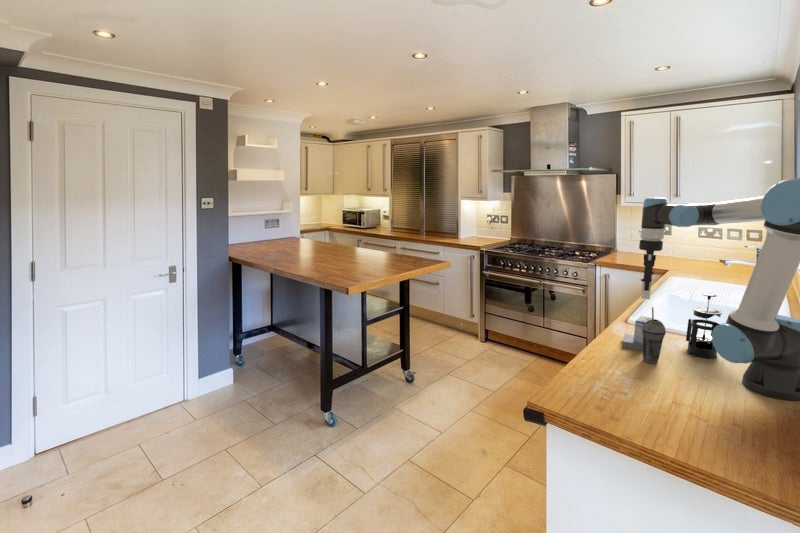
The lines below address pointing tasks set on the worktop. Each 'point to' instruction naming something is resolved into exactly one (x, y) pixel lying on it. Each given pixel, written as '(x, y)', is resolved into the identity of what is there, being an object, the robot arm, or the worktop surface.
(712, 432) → the worktop surface
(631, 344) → the base board
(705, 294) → the french press
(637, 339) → the medicine box
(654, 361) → the beverage cup
